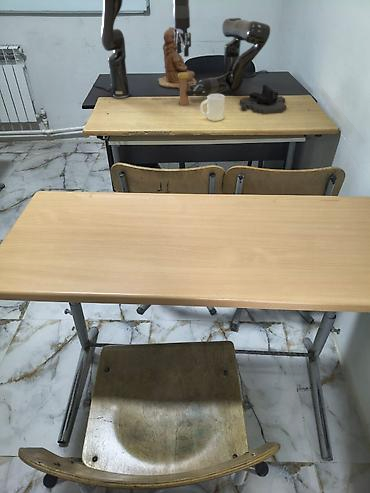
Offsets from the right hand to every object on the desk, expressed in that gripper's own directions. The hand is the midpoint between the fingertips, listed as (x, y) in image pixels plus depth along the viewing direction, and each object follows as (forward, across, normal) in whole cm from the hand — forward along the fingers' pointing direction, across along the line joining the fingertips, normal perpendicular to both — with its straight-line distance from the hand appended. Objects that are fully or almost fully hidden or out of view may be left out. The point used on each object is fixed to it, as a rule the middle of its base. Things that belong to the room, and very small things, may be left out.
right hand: (182, 91), depth 189 cm
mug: (-1, +26, +7) cm, 27 cm away
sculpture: (-17, -37, +7) cm, 41 cm away
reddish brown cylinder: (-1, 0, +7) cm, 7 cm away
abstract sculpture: (-33, +28, +6) cm, 44 cm away
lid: (-1, 0, -8) cm, 8 cm away
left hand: (-1, 0, -17) cm, 17 cm away
